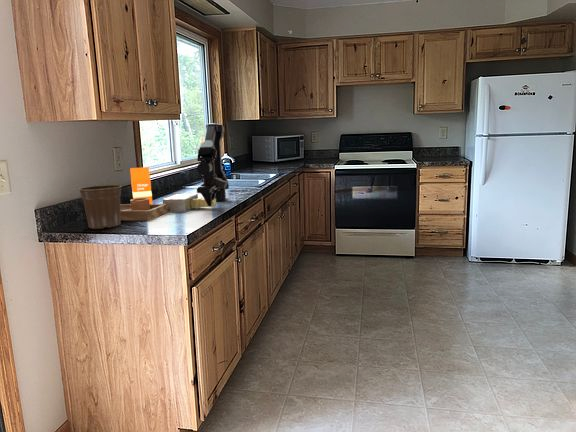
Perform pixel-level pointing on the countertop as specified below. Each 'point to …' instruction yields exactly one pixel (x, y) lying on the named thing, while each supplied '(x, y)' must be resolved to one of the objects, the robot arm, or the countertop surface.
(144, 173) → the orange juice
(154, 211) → the tray
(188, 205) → the white rectangular box
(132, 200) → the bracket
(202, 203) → the end cover
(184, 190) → the countertop surface
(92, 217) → the plant pot
